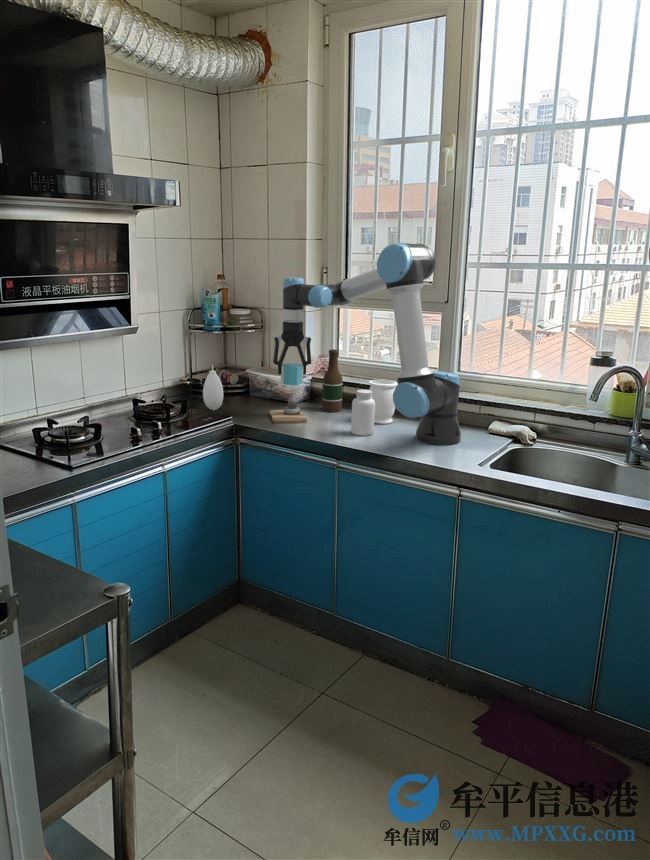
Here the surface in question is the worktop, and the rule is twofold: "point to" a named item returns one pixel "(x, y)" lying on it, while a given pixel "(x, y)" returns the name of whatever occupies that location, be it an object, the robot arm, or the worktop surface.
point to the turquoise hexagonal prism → (292, 374)
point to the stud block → (288, 412)
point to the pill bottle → (363, 413)
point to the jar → (383, 400)
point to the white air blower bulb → (213, 391)
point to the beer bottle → (332, 385)
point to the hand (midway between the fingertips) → (291, 382)
